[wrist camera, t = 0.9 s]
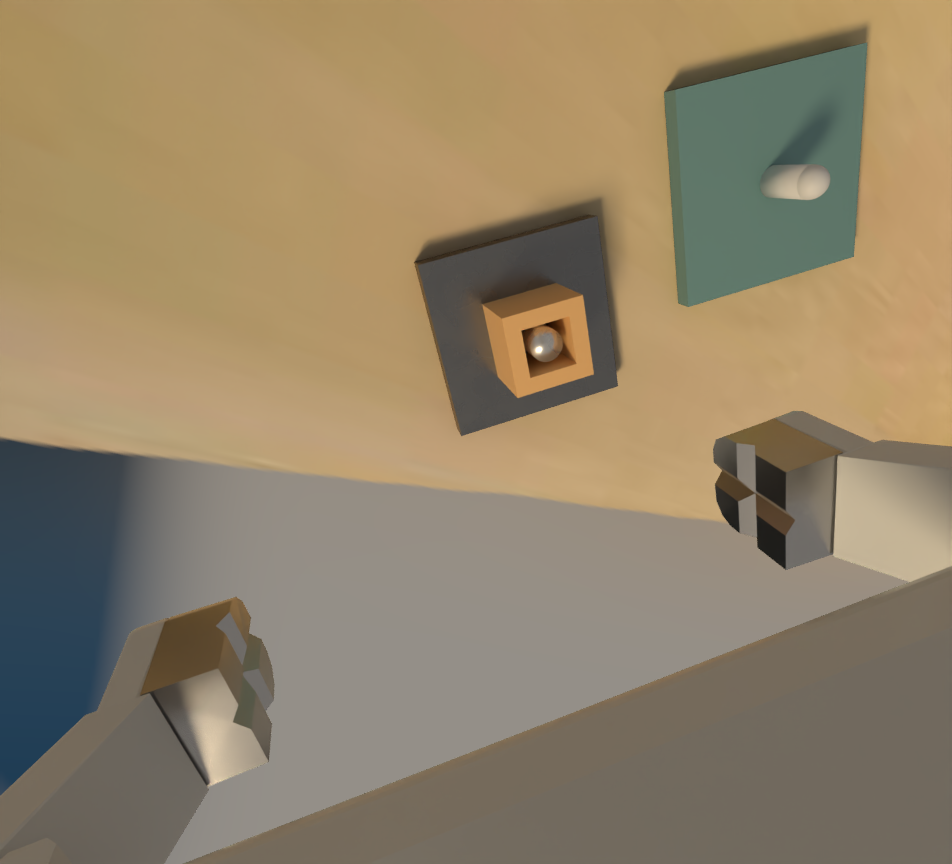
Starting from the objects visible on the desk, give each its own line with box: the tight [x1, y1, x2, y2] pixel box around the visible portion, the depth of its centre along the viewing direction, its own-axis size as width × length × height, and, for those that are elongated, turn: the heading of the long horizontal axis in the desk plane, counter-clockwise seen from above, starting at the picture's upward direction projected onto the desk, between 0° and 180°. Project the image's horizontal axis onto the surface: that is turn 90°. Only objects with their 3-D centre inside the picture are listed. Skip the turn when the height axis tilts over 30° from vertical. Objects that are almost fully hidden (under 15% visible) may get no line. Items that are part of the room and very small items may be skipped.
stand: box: [414, 215, 618, 436], centre depth 46 cm, size 14×14×6 cm
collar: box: [482, 283, 594, 398], centre depth 45 cm, size 6×6×5 cm
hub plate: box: [664, 43, 867, 307], centre depth 46 cm, size 16×16×7 cm
